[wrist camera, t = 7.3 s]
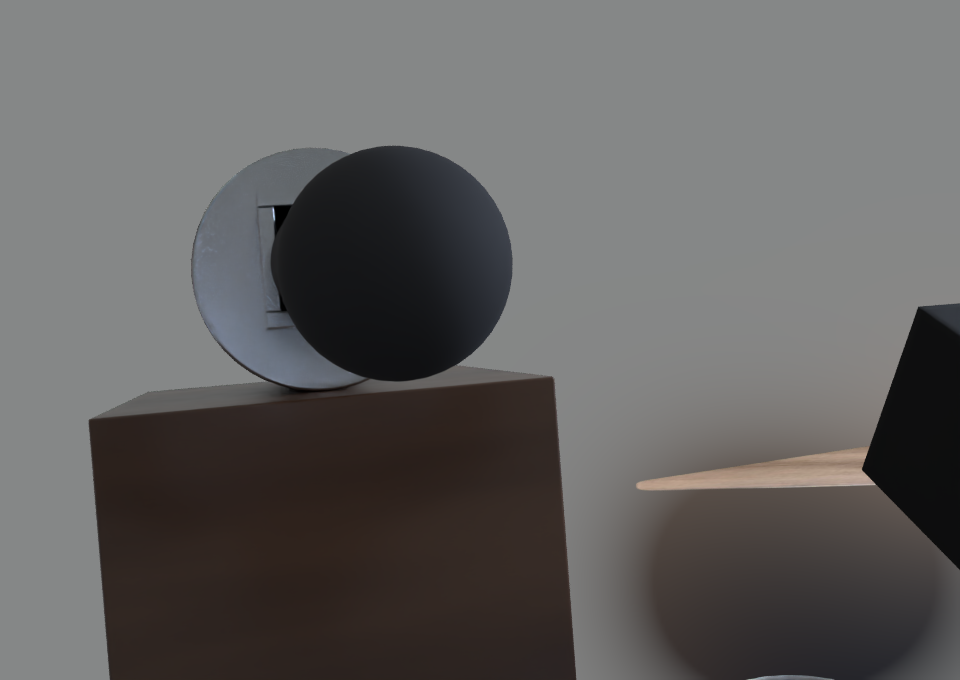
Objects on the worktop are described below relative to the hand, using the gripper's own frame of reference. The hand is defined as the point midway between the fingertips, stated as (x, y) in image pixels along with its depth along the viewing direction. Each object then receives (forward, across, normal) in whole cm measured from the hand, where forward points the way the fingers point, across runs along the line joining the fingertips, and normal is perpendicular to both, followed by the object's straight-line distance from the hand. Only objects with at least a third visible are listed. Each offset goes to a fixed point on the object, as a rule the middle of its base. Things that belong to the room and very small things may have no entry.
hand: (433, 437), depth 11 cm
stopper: (+7, 0, -1) cm, 7 cm away
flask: (+16, 0, -10) cm, 19 cm away
